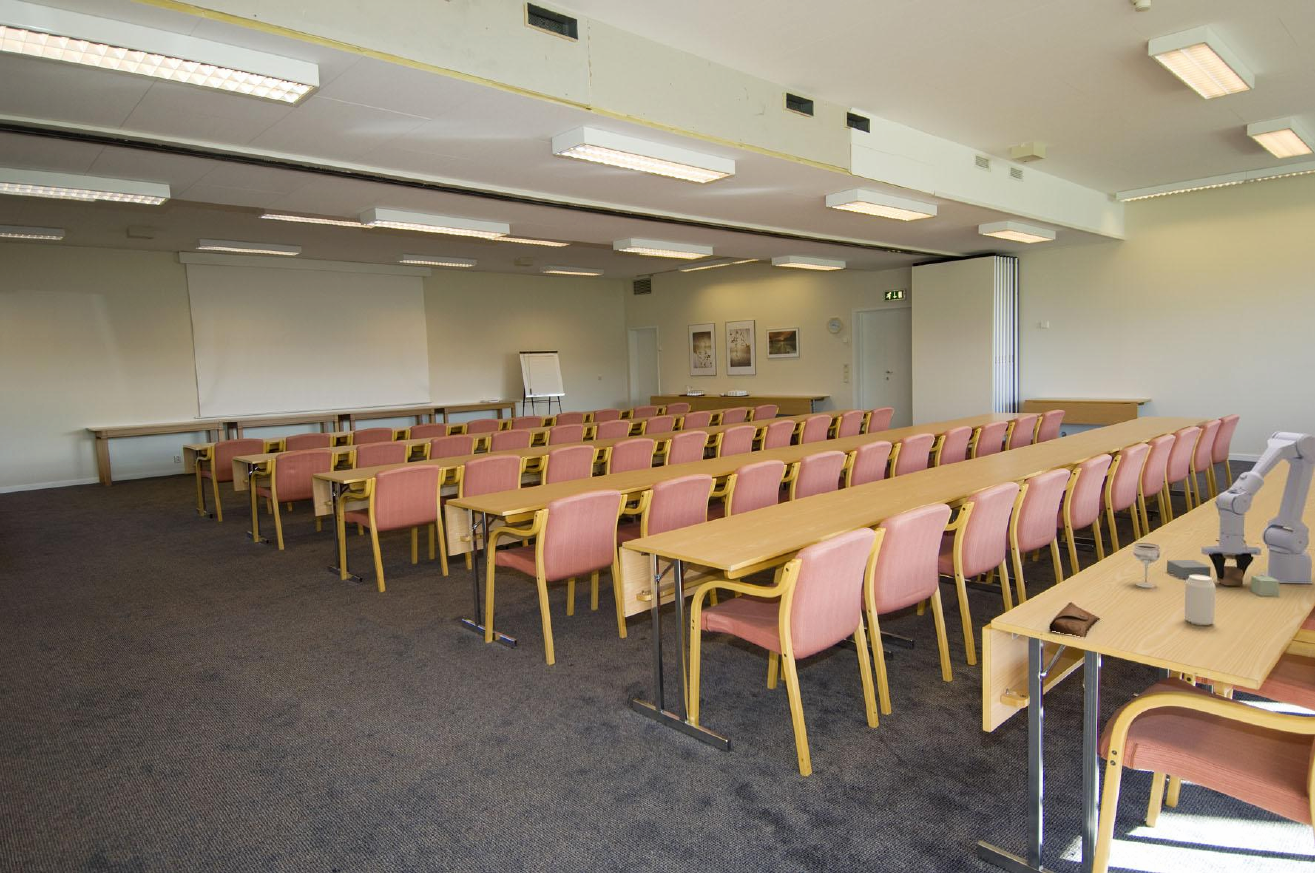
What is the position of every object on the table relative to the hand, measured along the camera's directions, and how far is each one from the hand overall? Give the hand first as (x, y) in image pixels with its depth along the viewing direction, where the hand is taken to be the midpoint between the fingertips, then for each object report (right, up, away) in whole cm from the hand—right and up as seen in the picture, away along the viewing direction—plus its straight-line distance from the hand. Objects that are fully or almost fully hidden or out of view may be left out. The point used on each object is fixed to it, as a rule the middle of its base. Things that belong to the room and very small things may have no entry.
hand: (1229, 578), depth 223 cm
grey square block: (-5, -1, +10) cm, 12 cm away
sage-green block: (+3, -3, -9) cm, 10 cm away
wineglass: (-23, -3, +3) cm, 23 cm away
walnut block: (0, -1, 0) cm, 1 cm away
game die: (+22, +2, +28) cm, 36 cm away
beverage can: (-29, -6, -28) cm, 41 cm away
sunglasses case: (-60, -8, -26) cm, 66 cm away
